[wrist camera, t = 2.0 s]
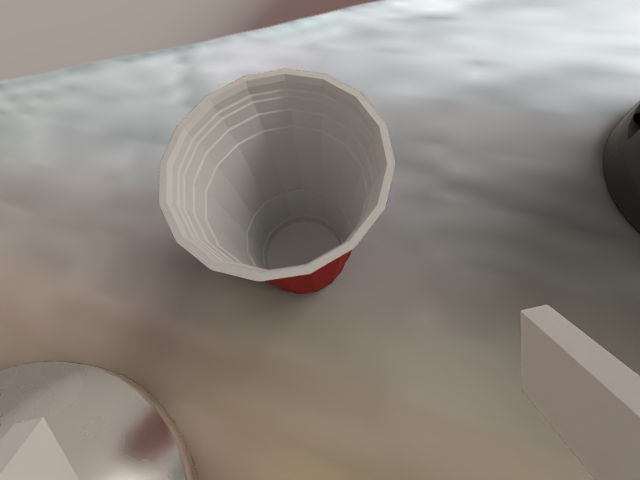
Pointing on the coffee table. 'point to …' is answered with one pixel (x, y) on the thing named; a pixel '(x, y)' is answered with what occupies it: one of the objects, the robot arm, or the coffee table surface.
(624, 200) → the robot arm
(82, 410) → the disc
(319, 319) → the coffee table surface
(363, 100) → the plastic cup
